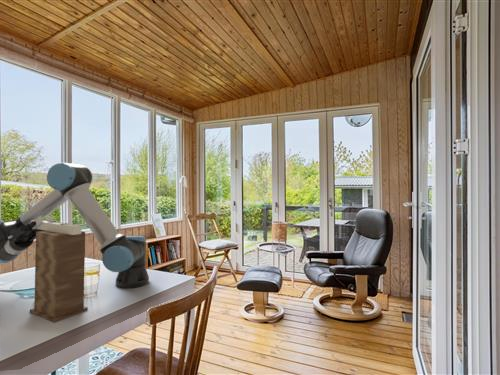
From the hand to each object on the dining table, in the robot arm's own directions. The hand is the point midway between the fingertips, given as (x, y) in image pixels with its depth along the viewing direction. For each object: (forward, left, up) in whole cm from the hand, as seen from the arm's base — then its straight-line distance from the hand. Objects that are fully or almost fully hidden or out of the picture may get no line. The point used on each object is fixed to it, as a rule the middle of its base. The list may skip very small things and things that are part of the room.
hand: (46, 218), depth 114 cm
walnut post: (-8, +6, -34) cm, 36 cm away
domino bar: (-4, +4, -4) cm, 7 cm away
